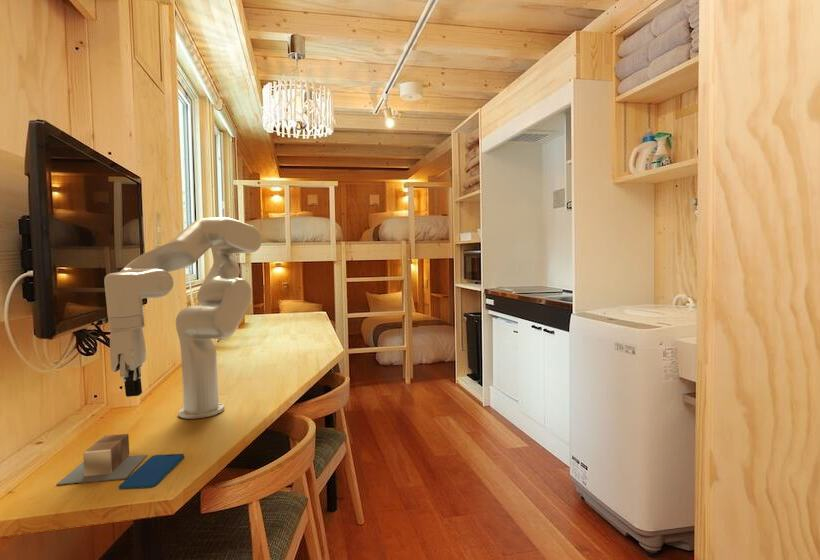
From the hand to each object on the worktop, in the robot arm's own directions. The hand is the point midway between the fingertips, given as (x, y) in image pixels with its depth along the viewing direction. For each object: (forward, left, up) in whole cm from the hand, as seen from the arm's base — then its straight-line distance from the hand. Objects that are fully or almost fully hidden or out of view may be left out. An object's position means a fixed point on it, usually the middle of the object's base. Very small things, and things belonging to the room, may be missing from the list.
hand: (134, 395), depth 121 cm
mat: (+16, -1, -12) cm, 20 cm away
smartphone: (+20, +10, -12) cm, 25 cm away
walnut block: (+10, -1, -9) cm, 13 cm away
